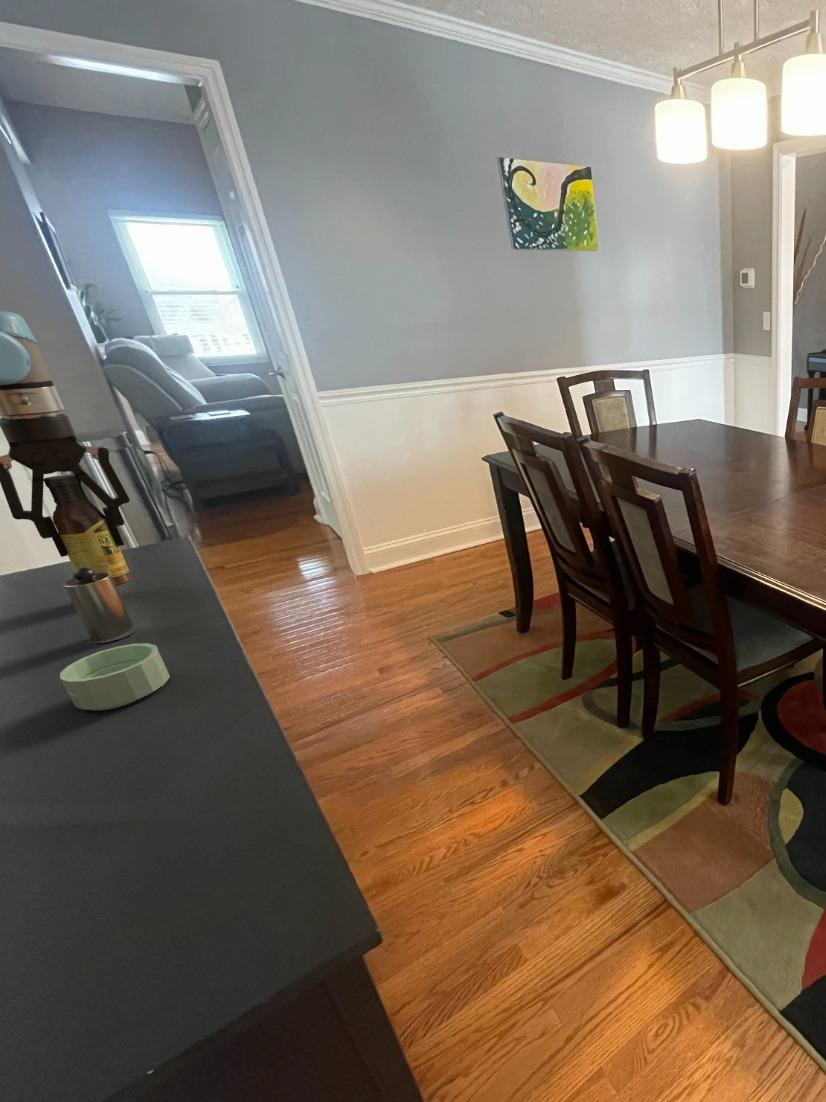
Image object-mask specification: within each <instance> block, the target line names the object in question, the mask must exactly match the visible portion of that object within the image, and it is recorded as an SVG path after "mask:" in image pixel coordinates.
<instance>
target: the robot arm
mask: <svg viewBox="0 0 826 1102" xmlns="http://www.w3.org/2000/svg"><path fill="white" fill-rule="evenodd" d="M64 410H65V406H64V404H63V401H62V399H61V397H60V395H59V393H58V390H57V388H56V386H55V385H54V382H53V380H52V377H51V376H50V373H49V370H48V367H47V365H46V363H45V361H44V359H43V356H42V353H41V351H40V349H39V347H38V341H37V340H36V339H35V337H34V335H33V333H32V331H31V329H30V327H29V326H28V324H27V323H26V320H25V319H24V317H23V316H21V315H20V314H18V313H16V312H14V311H0V430H1V431H2V433H3V435H4V437H5V439H6V442H7V444H8V446H9V449H8V452H7V453H6V454H4V455H3V454H2V455H0V486H1V489H2V492H3V494H4V496H5V501H6V502H7V505H8V508H9V510H10V514H11V517H12V518H13V519H14V520H20V521H21V520H28V521H31V522H32V523H33V524H34V526H35V528H36V530H37V532H38V534H39V537H40V538H42V539H43V540H45V539H50V538H51V539H52V541H53V543H54V545H55V547H56V549H57V551H58V553H59V556H60V557H61V558H64V557H68V554H67V552H66V550H65V548H64V546H63V544H62V541H61V539H60V537H59V535H58V530H57V529H56V526H55V524H54V522H53V518H52V517H51V516H50V515H48V516H44V514H43V511H44V510H43V509H44V485H45V482H44V478H45V475H50V474H54V473H57V472H59V473H67V472H72V474H75V475H76V476H77V477H78V478H79V479H80V480H81V483H82V484H84V485H85V486H86V487H87V488H88V489H89V490H90V491H91V492H92V493H93V494H94V495H95V496H96V497H97V498H98V499H99V500H100V501H101V502H102V503H103V504H104V505H105V506H106V507H102V508H101V509H102V513H103V515H105V516H106V519H107V521H108V523H109V526H110V528H111V530H112V532H113V535H114V537H115V539H116V542H117V544H118V546H119V547H122V546H125V543H124V540H123V537H122V536H121V533H120V530H119V529H118V527H120V526H125V520H124V518H123V515H122V513H121V511H120V506H122V505H124V504H128V503H130V497H129V495H128V493H127V491H126V490H125V487H124V486H123V484H122V482H121V480H120V478H119V476H118V474H117V473H116V471H115V469H114V467H113V465H112V463H111V461H110V451H109V449H108V447H107V446H105V445H99V446H93V445H85V444H84V443H83V442H82V441H80V440H79V438H78V436H77V434H76V432H75V430H74V427H73V425H72V423H71V420H70V418H69V416H68V415H66V414H65V413H62V411H64ZM86 453H87V454H90V457H91V458H92V459H94V460H98V462H99V464H100V467H101V469H102V470H103V472H104V474H105V476H106V478H107V480H108V482H109V483H110V485H111V487H112V489H113V490H114V492H115V495H116V497H112V496H111V495H110V494H109V493H108V492H107V491H106V490H105V489H104V488H103V487H102V486H101V485H100V484H99V483H98V482H97V481H96V480H95V479H94V478H93V477H92V476H91V475H90V474H89V473H88V472H87V470H86V469H85V468H84V467H83V466H82V465H81V464H80V463H81V462H82V459H83V457H84V455H85V454H86ZM12 461H15V462H16V463H19V464H20V465H22V466H23V467H26V468H27V469H30V470H31V471H32V473H31V499H30V500H31V506H30V510H25V509H24V507H23V505H22V502H21V498H20V496H19V493H18V490H17V488H16V485H15V482H14V478H13V476H12V473H11V472H10V470H11V469H12V468H13V464H12Z"/></svg>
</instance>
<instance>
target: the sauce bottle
mask: <svg viewBox="0 0 826 1102" xmlns="http://www.w3.org/2000/svg"><path fill="white" fill-rule="evenodd" d="M81 483H82V481H81V480H80V479H79V478H78V477H77V476H76V475H75V474H74V473H67V474H58V475H52V476H48V477H44V485H45V486H46V487H47V489H48V490H49V492H50V494H51V496H52V498H53V502H54V503H55V504H56V505H55V510H54V511H53V513H52V517H51V519H52V521H53V523H54V525H55V527H56V529H57V531H58V535H59V537H60V539H61V541H62V544H63V546H64V548H65V550H66V552H67V557H68V558H69V559H68V560H69V561H70V563H71V565H72V568H73V570H74V572H75V571H76V570H78V569H81V568H89V569H92V570H94V571H95V572H96V573H108V574H110V576H111V578H112V580H113V583H114V585H115V587H116V588H117V587H118V586H122V585H124V584H127V583H128V582H129V581H131V575H130V569H129V567H128V565H127V562H126V560H125V558H124V555H123V553H122V551H121V548H120V546H118V544H117V542H116V539H115V537H114V535H113V532H112V530H111V528H110V526H109V523H108V521H107V519H106V516H105V514H104V513H103V512H102V511H100V509H99V508H97V506H96V505H94V504H93V503H92V501H90V500H89V499H88V496H87V495H86V493H85V491H84V488H83V486H82V484H81Z"/></svg>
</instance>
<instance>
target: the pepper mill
mask: <svg viewBox="0 0 826 1102" xmlns="http://www.w3.org/2000/svg"><path fill="white" fill-rule="evenodd" d="M72 577H73V578H71V579H69V580H66V581H65V582H64V583H63V585H62V586H63V587H64V590H65V591H66V593H67V595H68V598H69V599H70V601H71V604H72V606H73V607H74V610H75V611H76V613H77V615H78V617H79V619H80V621H81V623H82V625H83V626H84V629H85V631H86V633H87V635H88V637H89V639H90V640H91V641H90V642H92V643H93V642H101V641H106V640H110V639H113V638H115V637H117V636H120V635H122V634H124V633H125V632H127V631H129V630H130V629H131V628H132V627H133V625H134V622H133V620H132V619H131V617H130V614H129V612H128V610H127V608H126V607H125V604H124V602H123V600H122V597H121V596H120V593H119V591H118V589H117V586H116V587H115V585H114V583H113V580H112V578H111V576H110V574H108V573H96V572H95V571H94V570H92V569H89V568H81V569H78V570H76V571H75V570H74V572H73V575H72Z"/></svg>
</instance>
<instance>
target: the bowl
mask: <svg viewBox="0 0 826 1102" xmlns="http://www.w3.org/2000/svg"><path fill="white" fill-rule="evenodd" d="M170 675H171V674H170V672H169V670H168V668H167V666H166V664H165V661H164V659H163V657H162V655H161V652H160V650H159V648H158V646H157V645H155V644H152V643H149V642H147V643H146V642H144V643H131V644H130V643H129V644H125V645H120V646H115V647H111V648H108V649H103V650H100V651H97V652H95V653H92V654H90V655H86V656H84V657H82V658H80V659H78V660H76V661H74V662H72V663H71V664H69V665H66V667H64V669H63V670H62V671H60V672H59V680H60V682H61V683H62V685H63V687H64V688H65V691H66V692H67V694H68V696H69V698H70V699H71V702H72V704H73V705H74V707H75V708H78V709H80V710H83V711H85V710H86V711H95V712H96V711H97V712H98V711H99V712H101V711H107V710H108V711H109V710H113V709H118V708H122V707H125V706H127V704H128V705H130V704H129V703H131V704H133V703H132V702H134V701H136V700H138V699H140V698H142V697H144V696H146V695H148V694H150V693H152V692H154V691H155V690H157V689H158V688H160V687H161V686H162V687H164V685H165V684H166V683H167V682H168V680H169V679H170V678H171V676H170ZM162 687H161V688H162ZM161 688H160V689H161ZM134 703H135V702H134ZM124 705H125V706H124ZM121 706H122V707H121Z"/></svg>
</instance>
